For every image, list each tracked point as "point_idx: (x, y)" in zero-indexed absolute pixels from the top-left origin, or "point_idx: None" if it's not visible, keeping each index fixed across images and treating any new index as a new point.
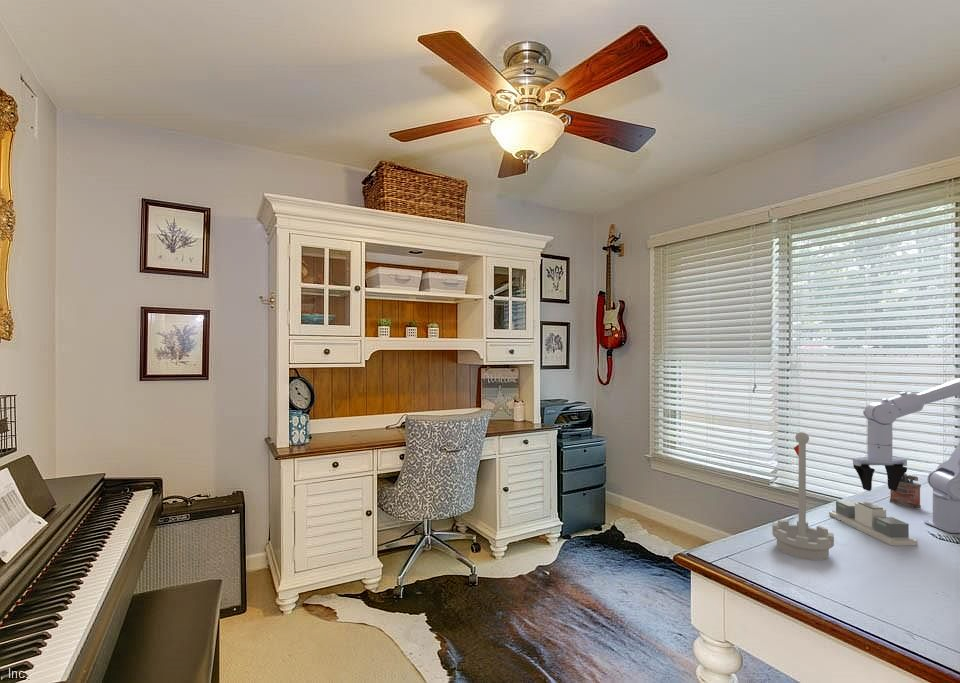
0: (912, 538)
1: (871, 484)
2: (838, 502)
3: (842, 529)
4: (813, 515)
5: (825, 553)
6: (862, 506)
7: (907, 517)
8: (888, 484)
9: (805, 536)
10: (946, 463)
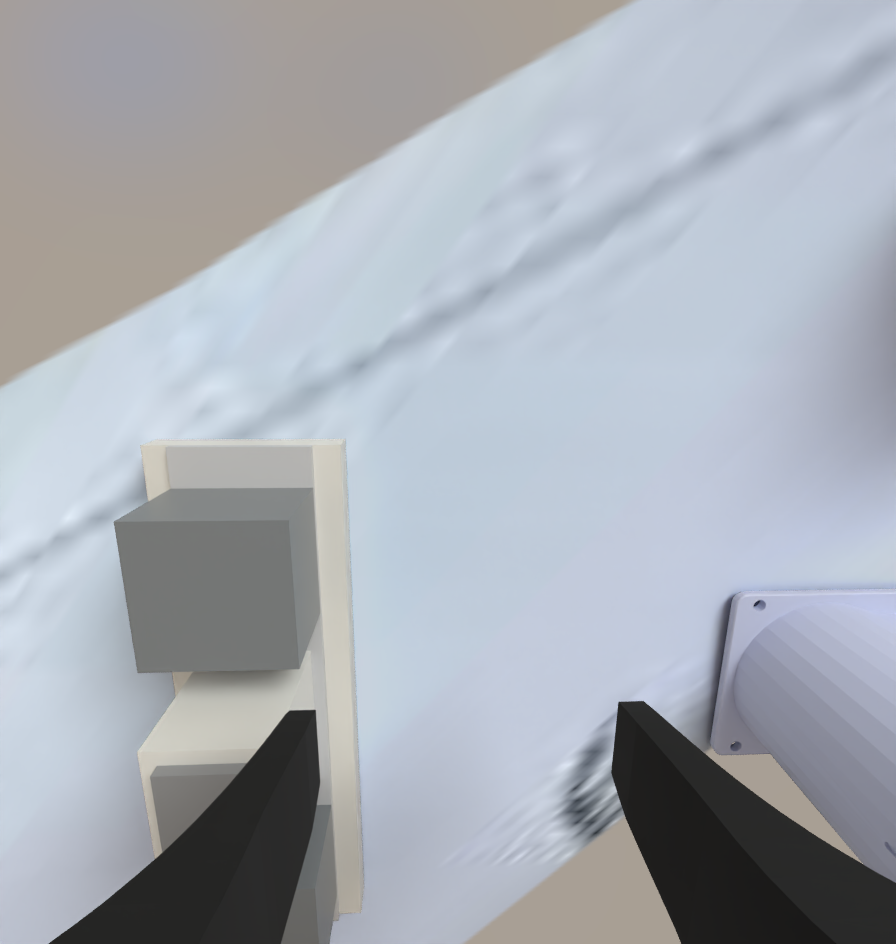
0: (359, 889)
1: (296, 880)
2: (123, 550)
3: (86, 695)
4: (26, 438)
5: None
6: (152, 822)
7: (732, 485)
8: (642, 737)
9: None
10: None
